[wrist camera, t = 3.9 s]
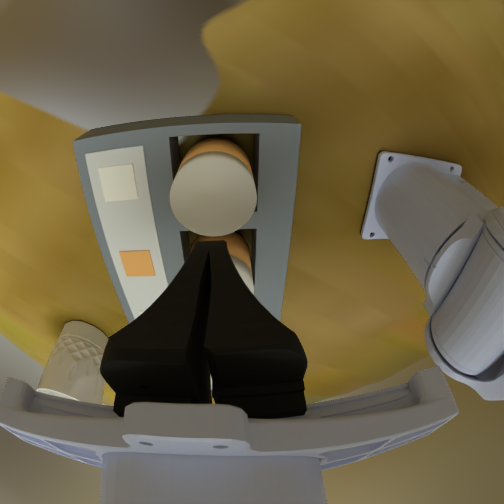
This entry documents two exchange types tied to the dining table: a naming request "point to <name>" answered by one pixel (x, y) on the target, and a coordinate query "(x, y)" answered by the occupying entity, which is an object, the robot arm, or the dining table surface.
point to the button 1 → (214, 188)
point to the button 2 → (235, 254)
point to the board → (159, 209)
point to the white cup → (76, 364)
